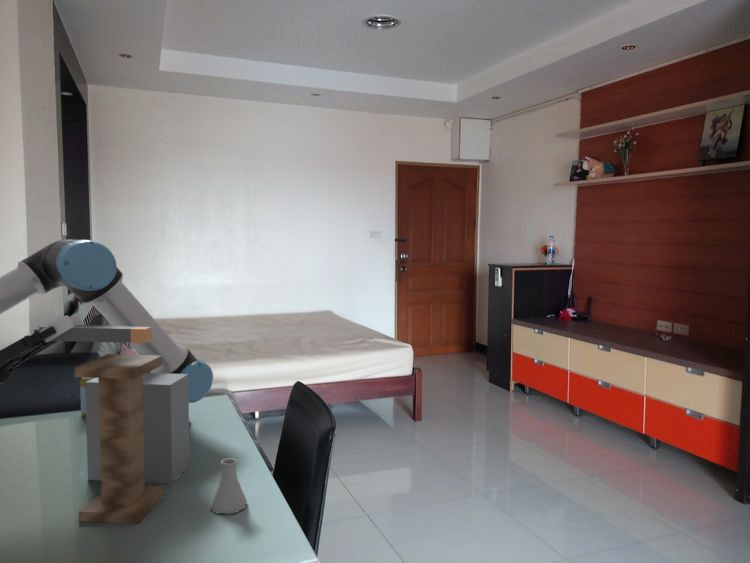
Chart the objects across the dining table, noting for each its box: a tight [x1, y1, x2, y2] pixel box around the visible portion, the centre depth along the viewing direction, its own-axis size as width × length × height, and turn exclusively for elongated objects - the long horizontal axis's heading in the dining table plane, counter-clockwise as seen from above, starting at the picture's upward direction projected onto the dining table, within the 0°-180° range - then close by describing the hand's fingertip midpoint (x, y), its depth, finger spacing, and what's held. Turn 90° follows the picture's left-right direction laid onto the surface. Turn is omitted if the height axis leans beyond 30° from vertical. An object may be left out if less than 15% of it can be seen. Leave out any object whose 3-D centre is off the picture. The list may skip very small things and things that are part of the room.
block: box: [85, 373, 190, 484], centre depth 132 cm, size 20×10×23 cm, turn 86°
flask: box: [210, 457, 248, 514], centre depth 116 cm, size 7×7×10 cm
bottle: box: [79, 377, 94, 418], centre depth 175 cm, size 7×7×15 cm
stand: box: [73, 353, 166, 525], centre depth 114 cm, size 12×12×31 cm
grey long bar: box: [33, 324, 152, 344], centre depth 113 cm, size 24×3×3 cm, turn 86°
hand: (75, 319), depth 113 cm, fingers closed on grey long bar, 3 cm apart
